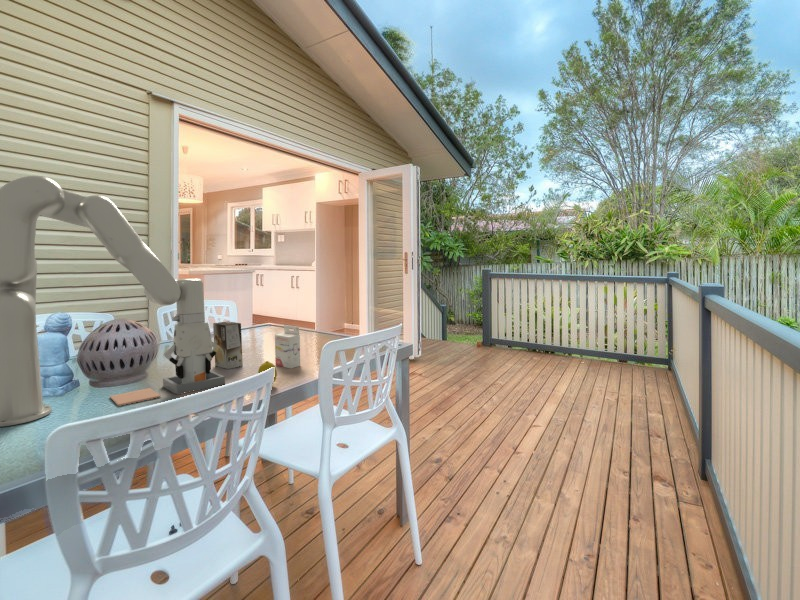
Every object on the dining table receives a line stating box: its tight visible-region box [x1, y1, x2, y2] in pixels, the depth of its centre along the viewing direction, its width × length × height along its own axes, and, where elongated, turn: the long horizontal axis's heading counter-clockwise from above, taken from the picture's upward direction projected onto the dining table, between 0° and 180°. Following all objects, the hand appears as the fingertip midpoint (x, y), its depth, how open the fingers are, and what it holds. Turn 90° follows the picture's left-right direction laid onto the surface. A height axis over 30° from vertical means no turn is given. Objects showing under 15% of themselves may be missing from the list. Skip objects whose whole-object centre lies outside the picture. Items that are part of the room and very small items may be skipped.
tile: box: [109, 387, 161, 407], centre depth 115 cm, size 10×10×1 cm
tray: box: [162, 369, 226, 396], centre depth 127 cm, size 14×12×2 cm
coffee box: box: [212, 320, 244, 370], centre depth 150 cm, size 9×6×16 cm
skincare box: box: [181, 350, 207, 385], centre depth 126 cm, size 6×4×12 cm
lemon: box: [257, 360, 278, 383], centre depth 125 cm, size 6×6×8 cm
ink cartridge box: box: [274, 324, 301, 369], centre depth 150 cm, size 9×5×15 cm, turn 58°
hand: (194, 374), depth 126 cm, fingers closed on skincare box, 7 cm apart
